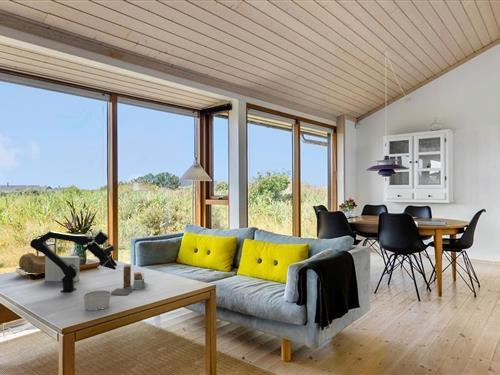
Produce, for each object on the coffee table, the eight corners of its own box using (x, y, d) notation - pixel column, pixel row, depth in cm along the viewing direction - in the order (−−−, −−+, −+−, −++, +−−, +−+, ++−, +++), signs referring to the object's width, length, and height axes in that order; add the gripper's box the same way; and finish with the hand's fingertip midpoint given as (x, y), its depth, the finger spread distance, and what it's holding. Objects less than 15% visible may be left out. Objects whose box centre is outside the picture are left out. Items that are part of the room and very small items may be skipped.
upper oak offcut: (134, 280, 224) (134, 274, 224) (134, 278, 228) (134, 272, 228) (141, 279, 226) (141, 273, 226) (140, 278, 229) (140, 271, 229)
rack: (133, 289, 219) (133, 279, 219) (134, 282, 233) (134, 273, 233) (144, 288, 221) (144, 278, 221) (144, 282, 235) (144, 272, 235)
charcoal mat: (127, 295, 207) (127, 294, 207) (108, 295, 208) (108, 294, 208) (134, 289, 218) (134, 288, 218) (117, 289, 219) (117, 288, 219)
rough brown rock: (21, 280, 239) (22, 258, 238) (17, 273, 251) (18, 252, 250) (60, 276, 254) (61, 255, 253) (54, 269, 267) (55, 250, 266)
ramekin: (114, 302, 195) (114, 290, 195) (105, 311, 182) (105, 298, 182) (89, 303, 194) (89, 290, 194) (79, 311, 181) (78, 298, 181)
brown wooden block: (123, 287, 222) (123, 266, 222) (124, 285, 227) (124, 264, 227) (130, 287, 223) (130, 266, 223) (130, 284, 228) (130, 264, 228)
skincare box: (80, 279, 239) (79, 256, 239) (75, 282, 234) (75, 257, 234) (49, 278, 241) (49, 255, 241) (44, 281, 236) (44, 257, 236)
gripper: (105, 243, 212) (125, 260, 215) (108, 238, 230) (126, 254, 233) (90, 257, 210) (111, 274, 213) (94, 251, 228) (113, 267, 231)
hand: (116, 267), depth 223 cm, fingers open, 9 cm apart
